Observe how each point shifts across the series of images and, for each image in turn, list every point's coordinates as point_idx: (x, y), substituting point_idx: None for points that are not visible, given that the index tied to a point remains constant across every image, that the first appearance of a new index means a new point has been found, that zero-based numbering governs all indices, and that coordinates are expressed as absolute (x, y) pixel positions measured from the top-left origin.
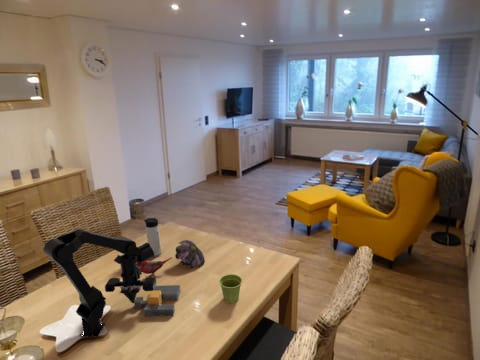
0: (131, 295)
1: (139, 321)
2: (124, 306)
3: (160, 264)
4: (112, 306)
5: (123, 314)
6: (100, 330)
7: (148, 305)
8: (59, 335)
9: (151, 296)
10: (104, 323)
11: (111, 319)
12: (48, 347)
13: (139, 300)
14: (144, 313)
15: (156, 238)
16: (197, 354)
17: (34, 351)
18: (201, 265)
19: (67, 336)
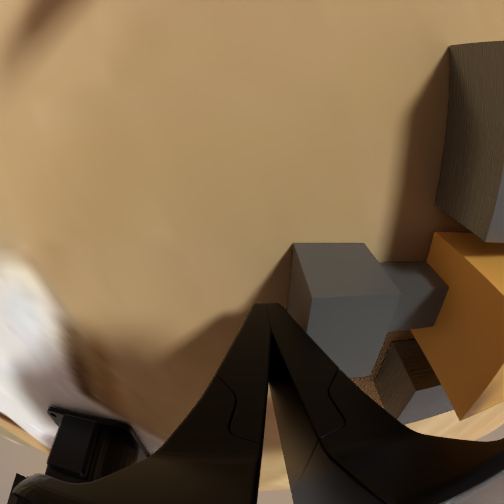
0: (292, 492)
1: None
2: (156, 286)
3: None
4: (49, 279)
5: (201, 373)
6: (143, 453)
7: (431, 391)
8: (11, 416)
9: (495, 399)
10: (128, 431)
11: (139, 399)
12: (32, 442)
13: (358, 354)
14: (382, 401)
15: None
16: (478, 437)
17: (16, 440)
18: None
19: (37, 428)
